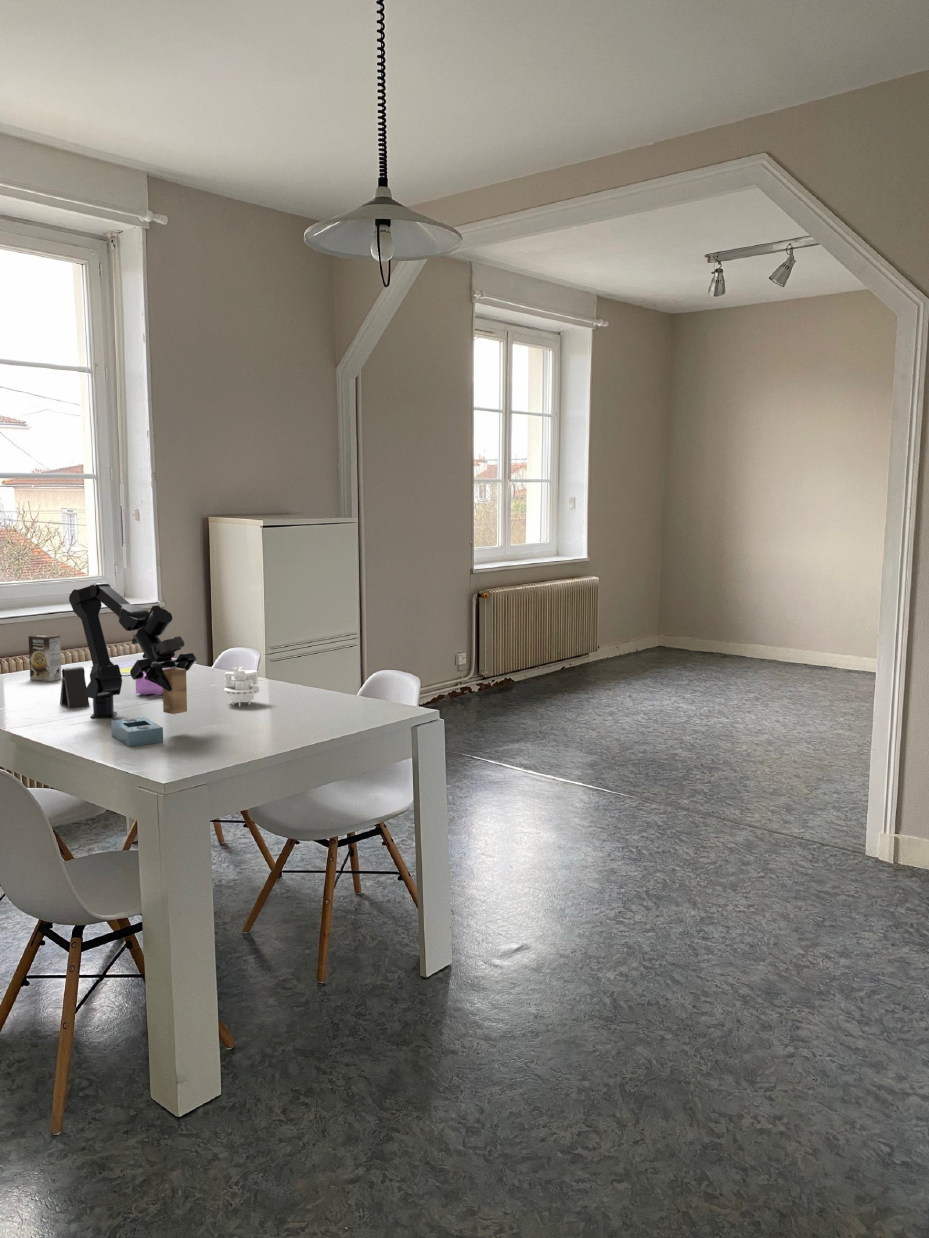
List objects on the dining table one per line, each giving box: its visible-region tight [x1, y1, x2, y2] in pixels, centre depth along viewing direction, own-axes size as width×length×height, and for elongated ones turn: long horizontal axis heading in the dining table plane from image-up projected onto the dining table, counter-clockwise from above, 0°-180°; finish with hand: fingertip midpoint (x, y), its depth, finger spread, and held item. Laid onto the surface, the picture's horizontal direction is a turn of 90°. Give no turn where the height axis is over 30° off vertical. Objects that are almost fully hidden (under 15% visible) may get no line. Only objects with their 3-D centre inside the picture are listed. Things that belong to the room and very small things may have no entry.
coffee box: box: [28, 633, 62, 682], centre depth 337 cm, size 9×6×16 cm
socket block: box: [110, 716, 164, 748], centre depth 252 cm, size 16×9×4 cm, turn 36°
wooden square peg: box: [162, 668, 188, 715], centre depth 258 cm, size 4×4×12 cm
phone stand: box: [59, 666, 90, 710], centre depth 293 cm, size 9×6×12 cm, turn 42°
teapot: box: [135, 668, 169, 696], centre depth 314 cm, size 18×14×10 cm
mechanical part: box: [223, 666, 260, 707], centre depth 297 cm, size 11×12×12 cm
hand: (177, 689), depth 257 cm, fingers closed on wooden square peg, 4 cm apart
